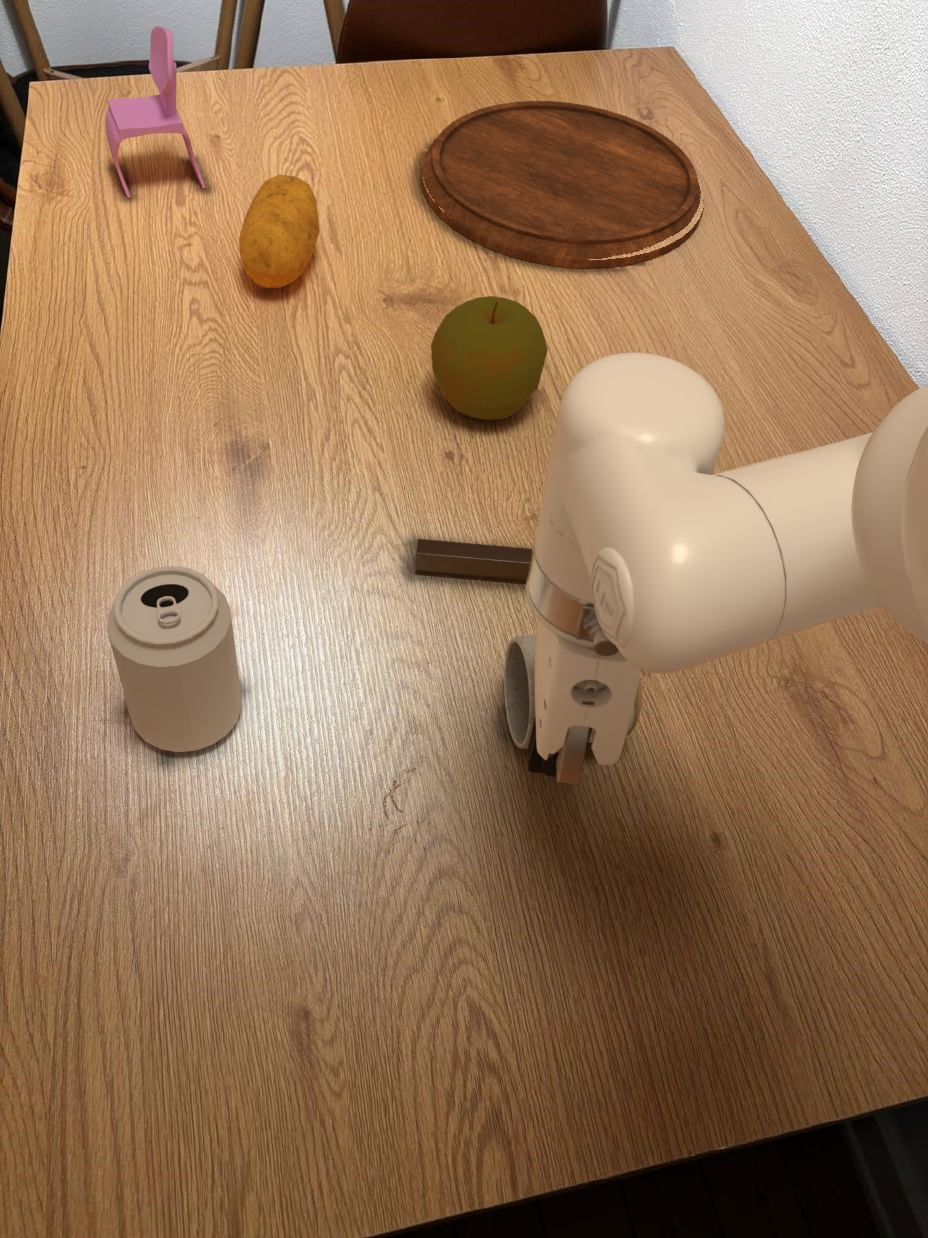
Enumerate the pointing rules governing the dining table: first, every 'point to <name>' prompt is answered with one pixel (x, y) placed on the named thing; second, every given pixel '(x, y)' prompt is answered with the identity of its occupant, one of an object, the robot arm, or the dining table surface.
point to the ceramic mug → (532, 690)
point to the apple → (488, 357)
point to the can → (176, 658)
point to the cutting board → (561, 184)
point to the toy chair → (150, 105)
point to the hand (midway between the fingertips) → (551, 763)
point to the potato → (279, 231)
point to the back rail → (472, 561)
